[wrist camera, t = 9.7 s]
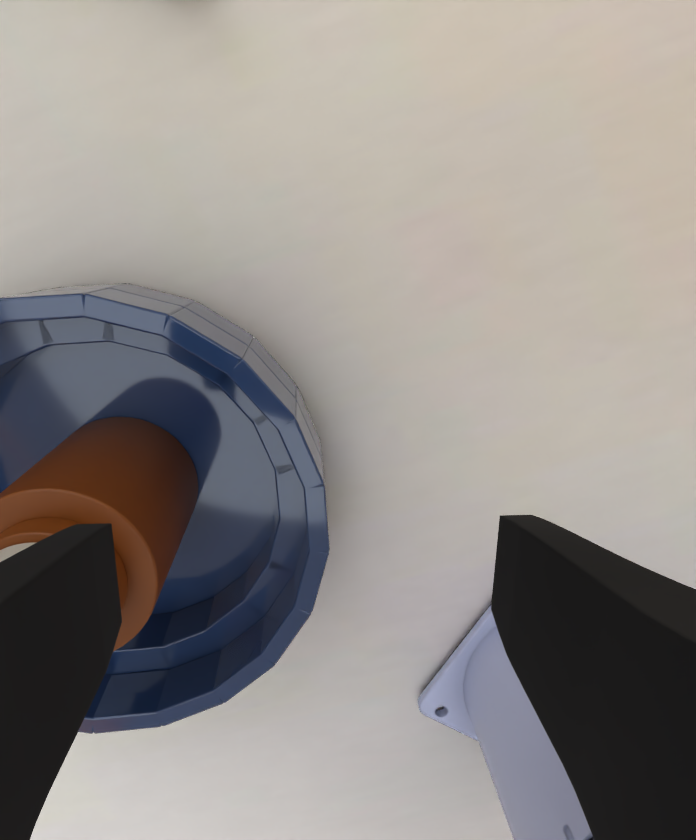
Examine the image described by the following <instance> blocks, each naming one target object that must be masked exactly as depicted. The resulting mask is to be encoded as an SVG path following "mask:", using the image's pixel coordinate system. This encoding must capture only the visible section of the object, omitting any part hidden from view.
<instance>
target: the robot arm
mask: <svg viewBox="0 0 696 840" xmlns="http://www.w3.org/2000/svg"><path fill="white" fill-rule="evenodd" d="M121 623H122V615H121V606H120V597H119V588H118V579H117V570H116V560H115V551H114V542H113V533H112V524H111V523H106V524H76V525H73V526H70V527H68V528H65V529H63V530H61V531H59V532H57V533H55V534H53V535H51V536H49V537H47V538H45V539H43V540H41V541H39V542H37V543H35V544H33V545H31V546H30V547H28V548H26V549H24V550H22V551H20V552H18V553H16V554H14V555H13V556H11V557H9V558H7V559H5V560H3V561H1V562H0V840H30V837H31V834H32V832H33V829H34V826H35V823H36V821H37V819H38V816H39V814H40V812H41V809H42V807H43V805H44V802H45V800H46V798H47V795H48V793H49V791H50V789H51V787H52V784H53V782H54V780H55V778H56V776H57V774H58V772H59V770H60V768H61V766H62V764H63V762H64V760H65V757H66V755H67V753H68V751H69V749H70V747H71V745H72V743H73V741H74V739H75V737H76V735H77V733H78V730H79V728H80V726H81V724H82V722H83V720H84V718H85V716H86V714H87V712H88V710H89V708H90V705H91V703H92V701H93V699H94V697H95V695H96V693H97V691H98V688H99V686H100V684H101V682H102V680H103V678H104V675H105V673H106V671H107V668H108V665H109V662H110V659H111V656H112V653H113V650H114V647H115V643H116V640H117V637H118V633H119V630H120V627H121ZM418 706H419V710H420V712H421V713H422V714H424V715H425V716H427V717H429V718H432V719H434V720H436V721H438V722H440V723H442V724H444V725H446V726H448V727H450V728H452V729H454V730H456V731H458V732H460V733H462V734H464V735H466V736H469V737H471V738H473V739H475V740H477V741H479V743H480V746H481V749H482V752H483V755H484V758H485V760H486V763H487V766H488V769H489V772H490V774H491V777H492V780H493V783H494V786H495V788H496V791H497V794H498V797H499V800H500V802H501V805H502V808H503V811H504V814H505V816H506V819H507V822H508V825H509V828H510V830H511V833H512V836H513V839H514V840H696V589H693V588H691V587H688V586H686V585H683V584H681V583H678V582H676V581H674V580H672V579H669V578H667V577H665V576H662V575H660V574H658V573H656V572H653V571H651V570H649V569H646V568H644V567H642V566H640V565H638V564H636V563H633V562H631V561H629V560H627V559H625V558H623V557H621V556H619V555H617V554H614V553H612V552H610V551H608V550H606V549H604V548H602V547H600V546H598V545H596V544H594V543H592V542H590V541H588V540H586V539H584V538H582V537H580V536H578V535H576V534H574V533H572V532H570V531H568V530H566V529H564V528H562V527H560V526H558V525H556V524H553V523H551V522H549V521H547V520H544V519H542V518H539V517H536V516H533V515H507V516H500V521H499V532H498V542H497V552H496V563H495V573H494V583H493V594H492V604H491V605H490V606H489V608H488V609H487V610H486V611H485V613H484V614H483V615H482V617H481V618H480V619H479V620H478V622H477V623H476V624H475V626H474V627H473V628H472V629H471V631H470V632H469V633H468V634H467V636H466V637H465V638H464V640H463V641H462V642H461V643H460V645H459V646H458V647H457V649H456V650H455V651H454V652H453V654H452V655H451V656H450V657H449V659H448V660H447V661H446V663H445V664H444V665H443V666H442V668H441V669H440V670H439V672H438V673H437V674H436V675H435V677H434V678H433V679H432V680H431V682H430V683H429V684H428V686H427V687H426V688H425V689H424V691H423V692H422V693H421V695H420V696H419V698H418ZM442 706H443V707H444V708H443V709H440V710H437V708H438V707H442Z"/></svg>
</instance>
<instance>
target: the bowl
mask: <svg viewBox="0 0 696 840" xmlns="http://www.w3.org/2000/svg"><path fill="white" fill-rule="evenodd" d="M109 417H131V418H136V419H141V420H144V421H147V422H150V423H152V424H154V425H157V426H159V427H161V428H162V429H164V430H165V431H167V432H168V433H170V434H171V435H172V436H173V437H175V438H176V439H177V440H178V441H179V442H180V443H181V445H182V446H183V447H184V448H185V450H186V451H187V452H188V454H189V456H190V458H191V460H192V462H193V464H194V467H195V469H196V473H197V478H198V497H197V502H196V505H195V508H194V511H193V513H192V516H191V518H190V521H189V523H188V525H187V528H186V530H185V533H184V535H183V538H182V540H181V543H180V545H179V548H178V550H177V553H176V555H175V558H174V560H173V562H172V565H171V567H170V570H169V572H168V575H167V577H166V580H165V582H164V585H163V587H162V590H161V592H160V595H159V597H158V599H157V602H156V604H155V607H154V609H153V612H152V614H151V616H150V617H149V619H148V621H147V623H146V624H145V625H144V627H143V628H142V629H141V631H140V632H139V633H138V634H137V635H136V636H135V637H134V638H133V639H131V640H130V641H129V642H127V643H126V644H125V645H124V646H122V647H120V648H119V649H117V650H115V651H113V653H112V656H111V659H110V662H109V665H108V668H107V671H106V673H105V675H104V678H103V680H102V682H101V684H100V686H99V688H98V691H97V693H96V695H95V697H94V699H93V701H92V703H91V705H90V708H89V710H88V712H87V714H86V716H85V718H84V720H83V722H82V724H81V726H80V728H79V730H78V732H84V733H90V734H91V733H93V732H94V733H105V732H115V731H125V730H135V729H144V728H154V727H161V726H165V725H168V724H170V723H173V722H176V721H178V720H181V719H184V718H186V717H189V716H192V715H194V714H197V713H199V712H202V711H205V710H207V709H210V708H213V707H215V706H218V705H221V704H223V702H224V703H225V702H227V701H228V700H229V699H231V698H232V697H233V696H235V695H236V694H237V693H239V692H240V691H241V690H243V689H244V688H245V687H247V686H248V685H249V684H251V683H252V682H253V681H255V680H256V679H257V678H259V677H260V676H261V675H263V674H264V673H265V672H267V671H268V670H269V669H271V668H272V667H273V666H274V665H275V664H276V663H277V662H278V660H279V659H280V657H281V656H282V655H283V653H284V652H285V650H286V649H287V647H288V646H289V645H290V643H291V642H292V640H293V639H294V637H295V636H296V635H297V633H298V632H299V630H300V629H301V628H302V626H303V625H304V623H305V622H306V620H307V619H308V618H309V616H310V615H311V612H312V611H313V608H314V604H315V601H316V597H317V594H318V590H319V587H320V583H321V580H322V576H323V573H324V569H325V565H326V562H327V558H328V555H329V535H328V521H327V507H326V493H325V481H324V470H323V460H322V450H321V442H320V438H319V436H318V433H317V431H316V429H315V426H314V424H313V422H312V419H311V417H310V415H309V412H308V410H307V408H306V405H305V403H304V401H303V398H302V396H301V393H300V391H299V389H298V387H297V386H296V385H295V383H294V381H293V380H292V379H291V378H290V377H289V376H288V375H287V373H286V372H285V371H284V370H283V369H282V368H281V367H280V365H279V364H278V363H277V362H276V361H275V360H274V359H273V357H272V356H271V355H270V354H269V353H268V352H267V351H266V349H265V348H264V347H263V346H262V345H261V344H260V343H259V341H258V340H257V339H256V338H253V335H251V334H250V333H248V332H246V331H245V330H243V329H242V328H240V327H238V326H237V325H235V324H233V323H232V322H230V321H228V320H227V319H225V318H224V317H222V316H220V315H219V314H217V313H215V312H214V311H212V310H210V309H209V308H207V307H206V306H204V305H202V304H201V303H199V302H197V301H195V300H192V299H188V298H184V297H180V296H176V295H172V294H168V293H164V292H160V291H157V290H153V289H149V288H145V287H141V286H137V285H133V284H126V283H121V284H105V285H88V286H71V287H58V288H52V289H47V290H41V291H35V292H30V293H25V294H19V295H13V296H8V297H2V298H0V493H1V492H2V491H4V490H5V489H6V488H7V487H8V486H10V485H11V484H12V483H13V482H14V481H16V480H17V479H18V478H19V477H20V476H22V475H23V474H24V473H25V472H27V471H28V470H29V469H30V468H31V467H33V466H34V465H35V464H36V463H37V462H39V461H40V460H41V459H42V458H43V457H45V456H46V455H47V454H48V453H50V452H51V451H52V450H53V449H54V448H56V447H57V446H58V445H59V444H60V443H62V442H63V441H64V440H65V439H66V438H68V437H69V436H70V435H71V434H73V433H74V432H75V431H76V430H78V429H79V428H81V427H82V426H84V425H86V424H88V423H91V422H93V421H96V420H99V419H103V418H109Z"/></svg>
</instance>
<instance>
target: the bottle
mask: <svg viewBox="0 0 696 840" xmlns="http://www.w3.org/2000/svg"><path fill="white" fill-rule="evenodd" d="M197 497H198V478H197V473H196V469H195V467H194V464H193V462H192V460H191V458H190V456H189V454H188V452H187V451H186V450H185V448H184V447H183V446H182V445H181V443H180V442H179V441H178V440H177V439H176V438H175V437H173V436H172V435H171V434H170V433H168V432H167V431H165V430H164V429H162V428H161V427H159V426H157V425H154V424H152V423H150V422H147V421H144V420H141V419H136V418H131V417H109V418H103V419H99V420H96V421H93V422H91V423H88V424H86V425H84V426H82V427H81V428H79V429H78V430H76V431H75V432H74V433H73V434H71V435H70V436H69V437H68V438H66V439H65V440H64V441H63V442H62V443H60V444H59V445H58V446H57V447H56V448H54V449H53V450H52V451H51V452H50V453H48V454H47V455H46V456H45V457H43V458H42V459H41V460H40V461H39V462H37V463H36V464H35V465H34V466H33V467H31V468H30V469H29V470H28V471H27V472H25V473H24V474H23V475H22V476H20V477H19V478H18V479H17V480H16V481H14V482H13V483H12V484H11V485H10V486H8V487H7V488H6V489H5V490H4V491H2V492H1V493H0V562H1V561H3V560H5V559H7V558H9V557H11V556H13V555H14V554H16V553H18V552H20V551H22V550H24V549H26V548H28V547H30V546H31V545H33V544H35V543H37V542H39V541H41V540H43V539H45V538H47V537H49V536H51V535H53V534H55V533H57V532H59V531H61V530H63V529H65V528H68V527H70V526H73V525H76V524H106V523H111V524H112V533H113V542H114V551H115V560H116V570H117V579H118V588H119V597H120V606H121V615H122V623H121V627H120V630H119V633H118V637H117V640H116V643H115V647H114V650H113V651H115V650H117V649H119V648H120V647H122V646H124V645H125V644H126V643H127V642H129V641H130V640H131V639H133V638H134V637H135V636H136V635H137V634H138V633H139V632H140V631H141V629H142V628H143V627H144V625H145V624H146V623H147V621H148V619H149V617H150V616H151V614H152V612H153V609H154V607H155V604H156V602H157V599H158V597H159V595H160V592H161V590H162V587H163V585H164V582H165V580H166V577H167V575H168V572H169V570H170V567H171V565H172V562H173V560H174V558H175V555H176V553H177V550H178V548H179V545H180V543H181V540H182V538H183V535H184V533H185V530H186V528H187V525H188V523H189V521H190V518H191V516H192V513H193V511H194V508H195V505H196V502H197Z"/></svg>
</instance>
